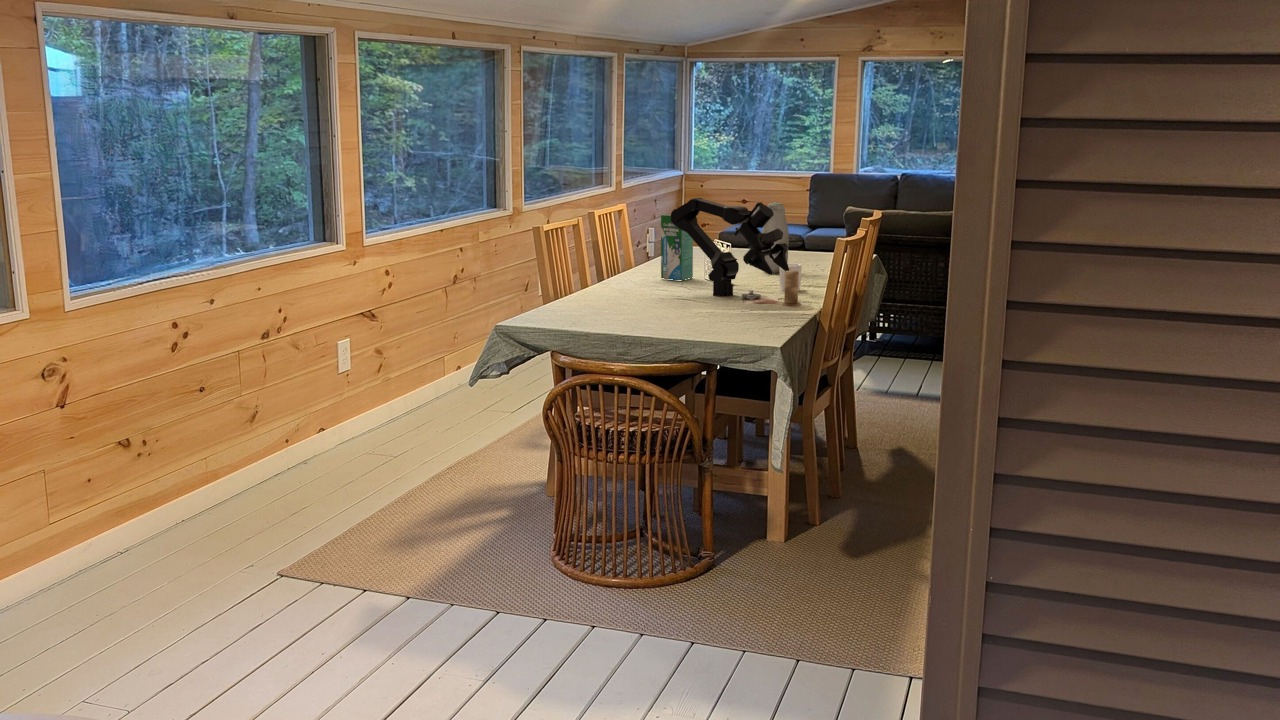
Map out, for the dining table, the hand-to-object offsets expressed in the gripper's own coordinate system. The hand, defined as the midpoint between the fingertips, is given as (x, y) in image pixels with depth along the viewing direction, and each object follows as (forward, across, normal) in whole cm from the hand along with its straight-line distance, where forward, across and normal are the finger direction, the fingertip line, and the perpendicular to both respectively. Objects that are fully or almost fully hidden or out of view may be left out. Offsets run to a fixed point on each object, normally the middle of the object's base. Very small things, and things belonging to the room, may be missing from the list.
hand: (780, 272), depth 374 cm
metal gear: (-1, 0, +16) cm, 16 cm away
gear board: (+2, 0, +14) cm, 14 cm away
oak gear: (+11, 0, +5) cm, 12 cm away
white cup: (-1, +24, +17) cm, 30 cm away
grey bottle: (-24, +60, +40) cm, 76 cm away
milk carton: (-38, +22, +54) cm, 69 cm away
